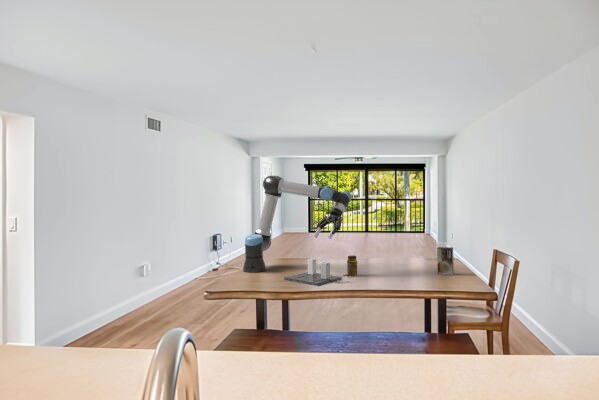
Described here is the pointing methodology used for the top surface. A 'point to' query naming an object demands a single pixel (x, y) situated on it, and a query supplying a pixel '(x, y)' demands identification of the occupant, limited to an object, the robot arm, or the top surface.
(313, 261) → the block
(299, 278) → the dark grey flat board
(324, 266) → the block
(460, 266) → the top surface
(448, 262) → the coffee box
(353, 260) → the condiment
